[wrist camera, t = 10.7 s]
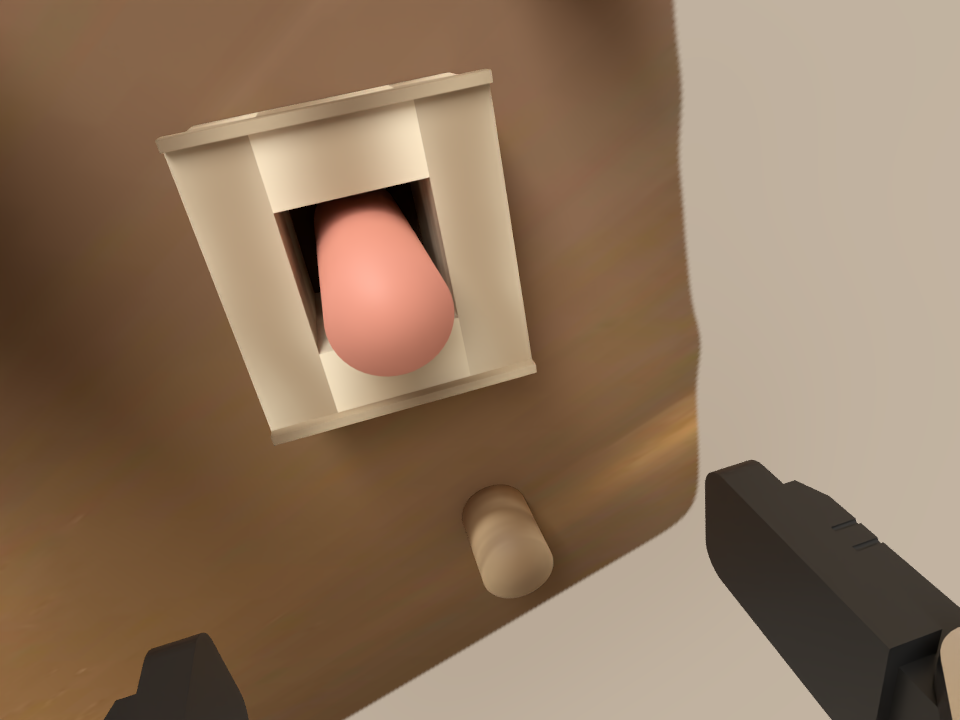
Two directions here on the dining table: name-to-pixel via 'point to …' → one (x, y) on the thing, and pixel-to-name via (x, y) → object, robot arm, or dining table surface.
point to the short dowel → (506, 542)
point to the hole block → (339, 173)
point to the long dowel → (379, 286)
